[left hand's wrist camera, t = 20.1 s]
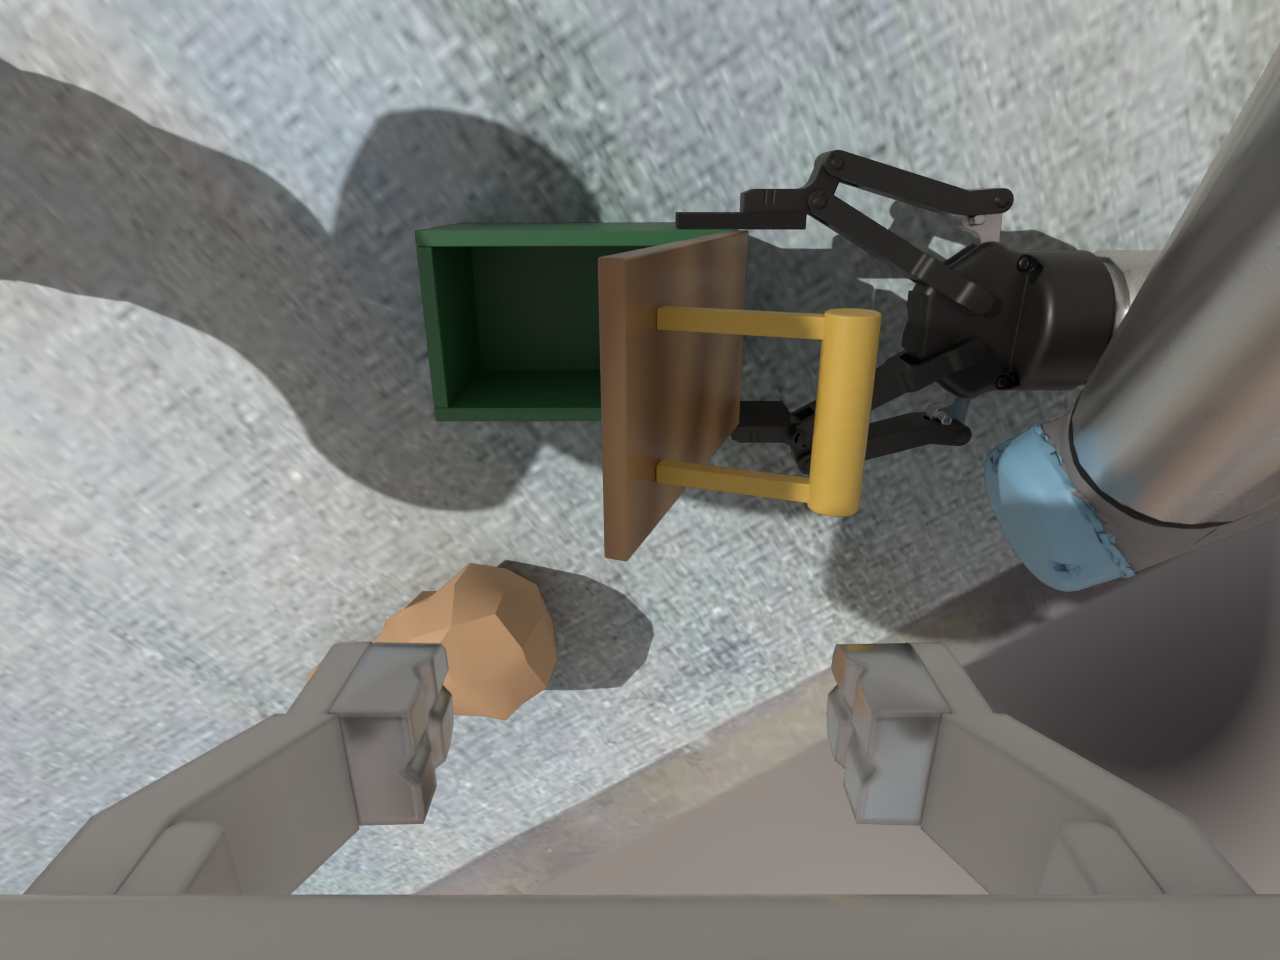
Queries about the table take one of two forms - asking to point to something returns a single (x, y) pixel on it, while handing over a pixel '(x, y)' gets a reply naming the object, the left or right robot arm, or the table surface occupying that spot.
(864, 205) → the table surface
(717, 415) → the lid
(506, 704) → the squash
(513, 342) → the chest
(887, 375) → the right robot arm
